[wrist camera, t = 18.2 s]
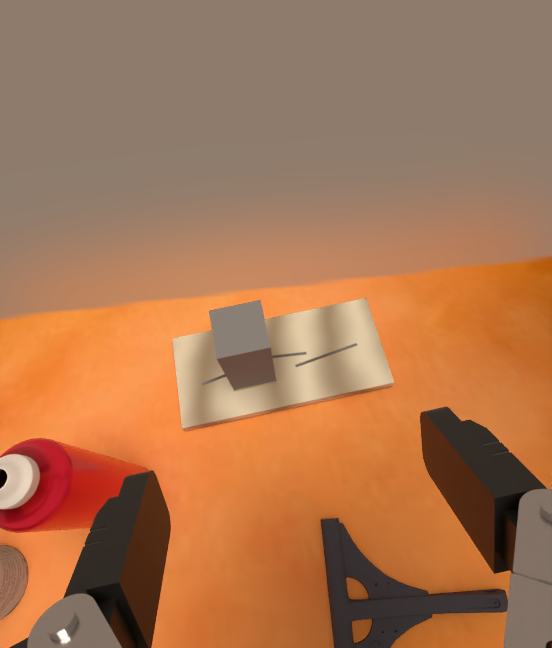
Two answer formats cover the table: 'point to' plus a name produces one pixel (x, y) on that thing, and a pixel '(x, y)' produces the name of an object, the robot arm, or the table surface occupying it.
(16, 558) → the spray paint can
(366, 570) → the squeegee
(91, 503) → the bottle
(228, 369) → the block
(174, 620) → the table surface
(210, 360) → the board
